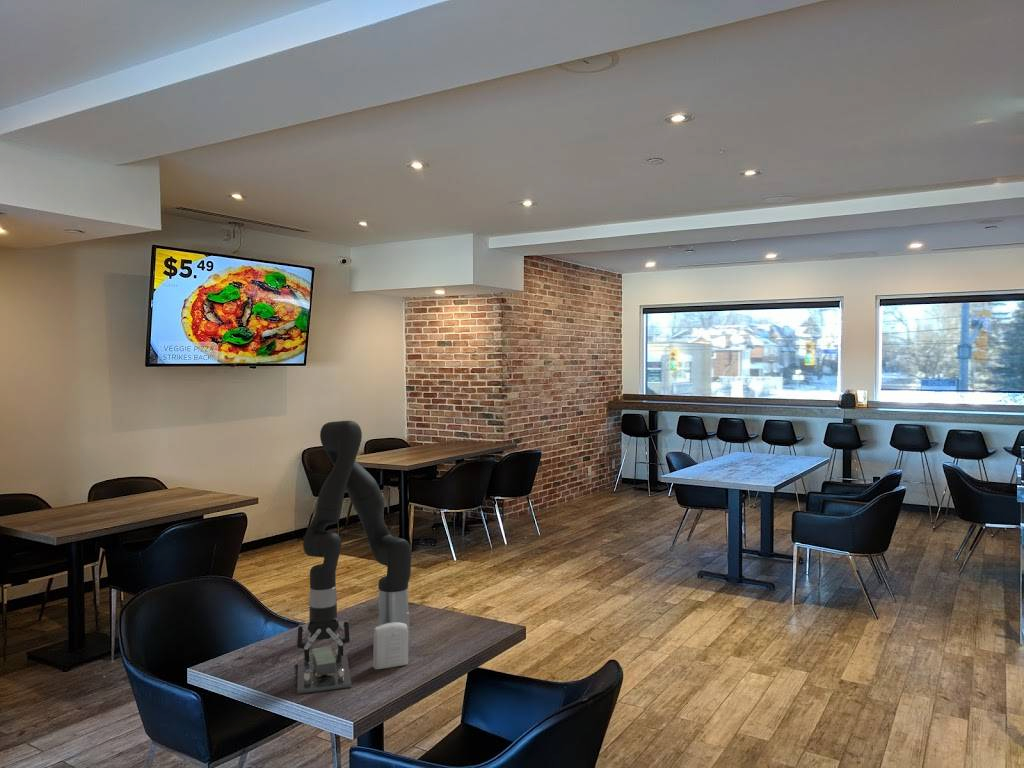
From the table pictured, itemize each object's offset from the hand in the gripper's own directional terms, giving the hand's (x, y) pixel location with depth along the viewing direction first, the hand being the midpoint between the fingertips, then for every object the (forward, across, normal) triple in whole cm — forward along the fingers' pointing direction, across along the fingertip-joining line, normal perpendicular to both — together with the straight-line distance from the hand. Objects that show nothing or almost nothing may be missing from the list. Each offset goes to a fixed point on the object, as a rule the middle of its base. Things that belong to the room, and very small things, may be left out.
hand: (323, 659), depth 203 cm
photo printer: (+5, -19, -1) cm, 19 cm away
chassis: (+4, 0, 0) cm, 4 cm away
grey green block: (+2, 0, 0) cm, 2 cm away
